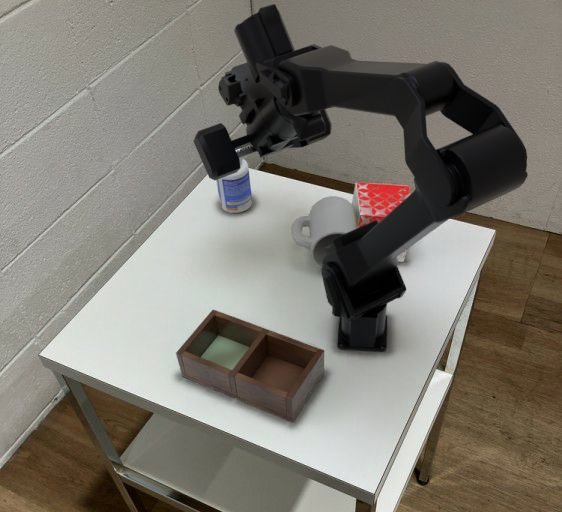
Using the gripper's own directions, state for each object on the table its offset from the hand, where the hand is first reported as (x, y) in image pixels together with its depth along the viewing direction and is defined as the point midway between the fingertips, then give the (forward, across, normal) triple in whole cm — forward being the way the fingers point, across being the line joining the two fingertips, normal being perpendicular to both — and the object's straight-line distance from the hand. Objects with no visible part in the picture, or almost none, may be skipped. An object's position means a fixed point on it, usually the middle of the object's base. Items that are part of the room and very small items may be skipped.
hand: (247, 154), depth 93 cm
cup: (0, -8, +12) cm, 14 cm away
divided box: (-11, +16, +28) cm, 34 cm away
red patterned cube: (-4, -15, +14) cm, 21 cm away
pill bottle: (+13, 0, +4) cm, 14 cm away
